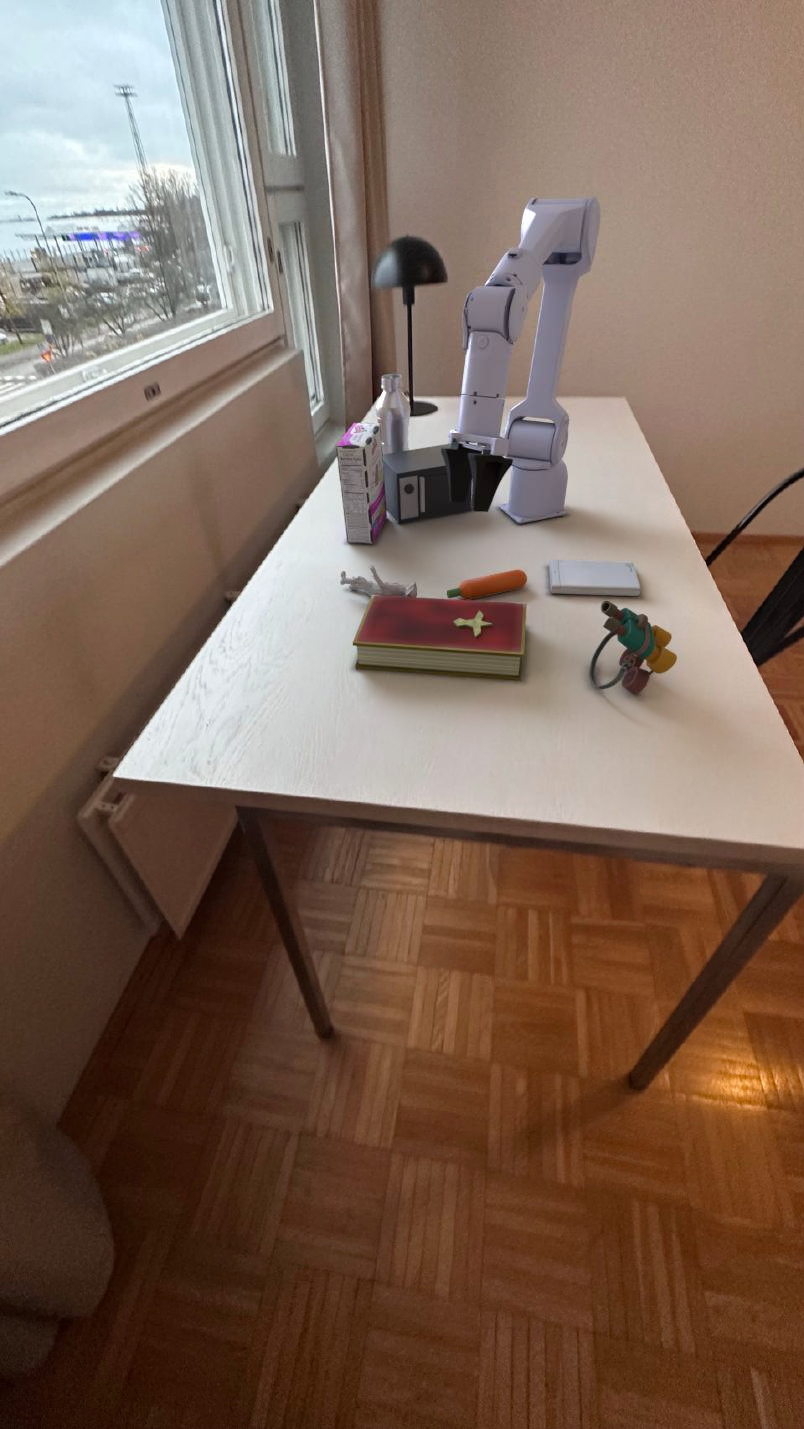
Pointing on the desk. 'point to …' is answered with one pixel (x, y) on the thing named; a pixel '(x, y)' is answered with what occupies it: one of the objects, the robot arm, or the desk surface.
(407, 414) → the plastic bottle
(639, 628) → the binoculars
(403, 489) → the mini oven
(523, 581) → the carrot
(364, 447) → the candy bar box
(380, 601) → the hardcover book
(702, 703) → the desk surface
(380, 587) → the soldier figure
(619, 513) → the desk surface
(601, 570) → the hard drive
